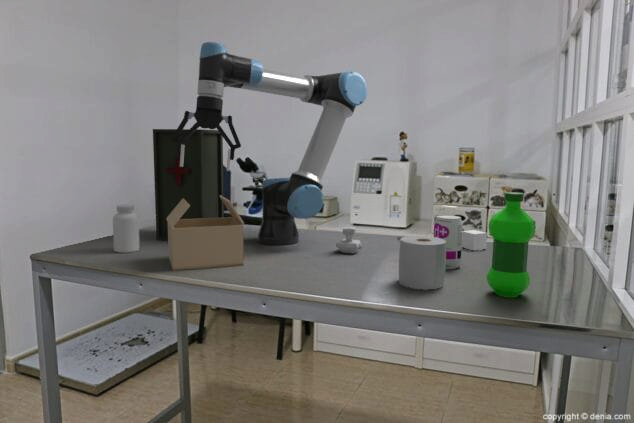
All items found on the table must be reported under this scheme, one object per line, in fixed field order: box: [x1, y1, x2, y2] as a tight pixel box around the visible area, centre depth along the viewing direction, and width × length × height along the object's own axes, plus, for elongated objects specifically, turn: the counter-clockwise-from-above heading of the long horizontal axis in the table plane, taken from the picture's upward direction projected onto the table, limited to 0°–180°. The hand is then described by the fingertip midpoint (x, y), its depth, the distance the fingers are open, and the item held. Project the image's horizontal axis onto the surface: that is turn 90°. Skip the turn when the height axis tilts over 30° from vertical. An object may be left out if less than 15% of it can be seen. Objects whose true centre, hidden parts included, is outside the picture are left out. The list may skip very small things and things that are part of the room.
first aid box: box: [152, 128, 225, 241], centre depth 187 cm, size 18×18×40 cm
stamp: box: [335, 226, 364, 255], centre depth 166 cm, size 9×7×8 cm
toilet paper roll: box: [398, 235, 446, 291], centre depth 131 cm, size 12×12×12 cm
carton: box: [167, 216, 245, 272], centre depth 151 cm, size 20×16×12 cm
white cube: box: [462, 229, 488, 251], centre depth 175 cm, size 6×6×6 cm
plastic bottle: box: [486, 191, 537, 298], centre depth 122 cm, size 10×10×25 cm
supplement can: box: [433, 214, 464, 270], centre depth 149 cm, size 8×8×15 cm
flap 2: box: [219, 195, 245, 225], centre depth 153 cm, size 8×15×1 cm
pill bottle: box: [112, 204, 140, 254], centre depth 164 cm, size 8×8×15 cm
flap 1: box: [166, 199, 190, 228], centre depth 147 cm, size 8×15×1 cm
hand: (204, 168), depth 150 cm, fingers open, 13 cm apart
